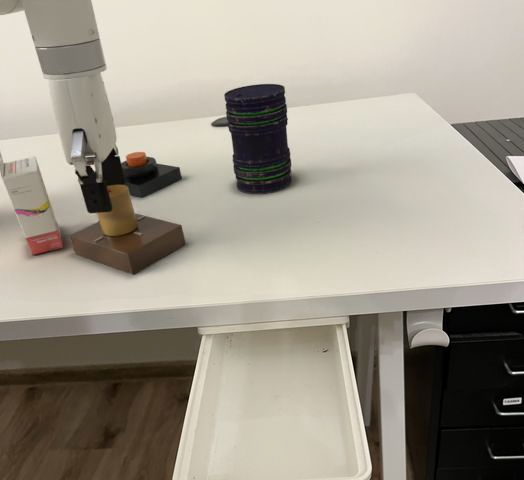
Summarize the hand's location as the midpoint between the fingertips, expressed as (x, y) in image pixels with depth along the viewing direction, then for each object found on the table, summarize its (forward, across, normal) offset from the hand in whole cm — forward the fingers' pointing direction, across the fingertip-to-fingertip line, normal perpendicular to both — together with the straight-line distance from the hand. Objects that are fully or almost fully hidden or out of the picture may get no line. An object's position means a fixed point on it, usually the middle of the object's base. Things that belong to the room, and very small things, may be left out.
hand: (108, 197), depth 76 cm
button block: (+8, -27, -1) cm, 28 cm away
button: (+4, -27, -1) cm, 28 cm away
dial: (+5, 0, +1) cm, 5 cm away
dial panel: (+8, +1, +2) cm, 8 cm away
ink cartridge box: (+8, -5, -13) cm, 16 cm away
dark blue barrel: (+7, -20, +22) cm, 30 cm away
